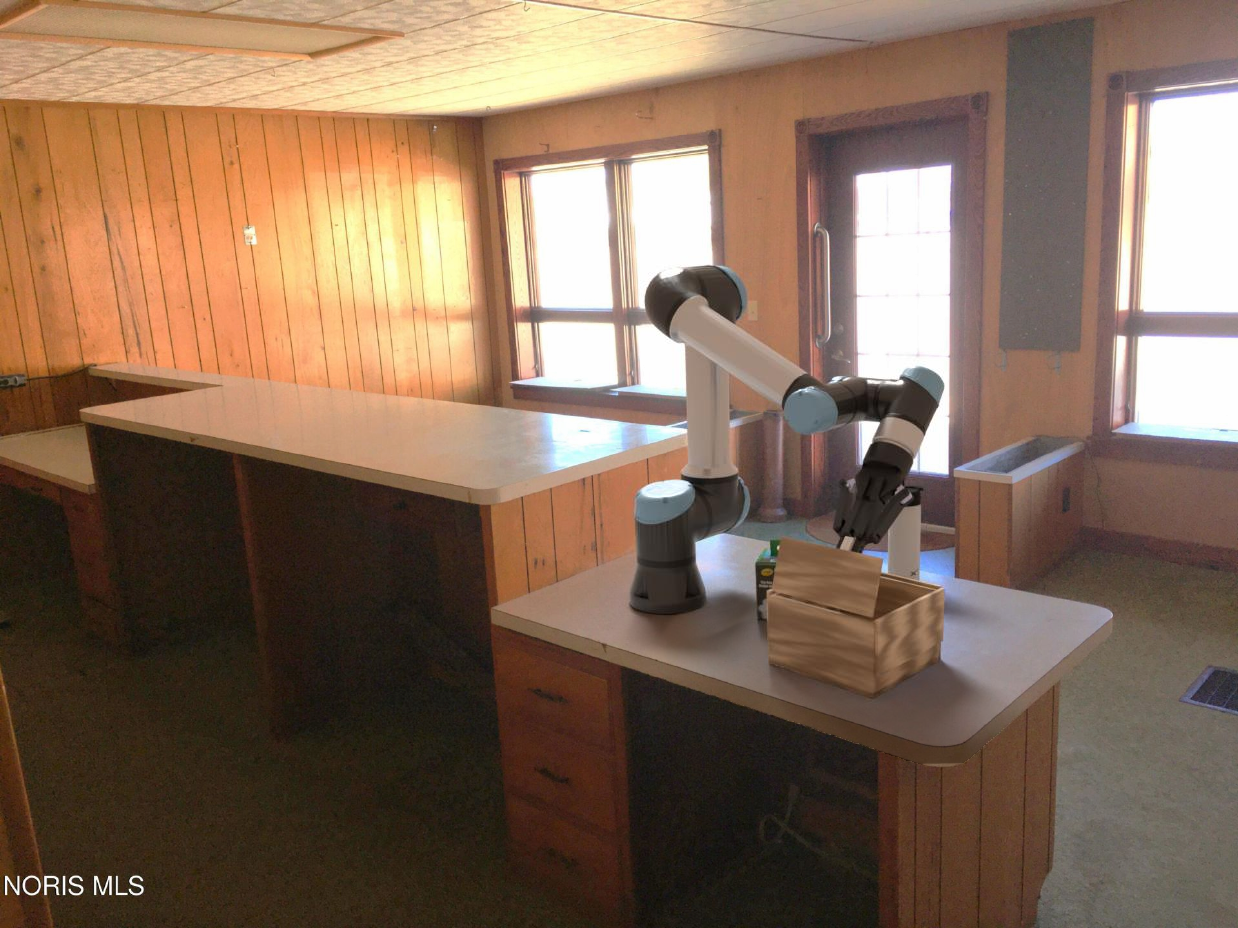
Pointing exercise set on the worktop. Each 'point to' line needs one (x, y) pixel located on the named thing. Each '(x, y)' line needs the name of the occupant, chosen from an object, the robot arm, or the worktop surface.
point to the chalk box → (765, 576)
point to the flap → (828, 575)
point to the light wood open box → (859, 636)
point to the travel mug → (906, 539)
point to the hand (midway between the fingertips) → (837, 576)
